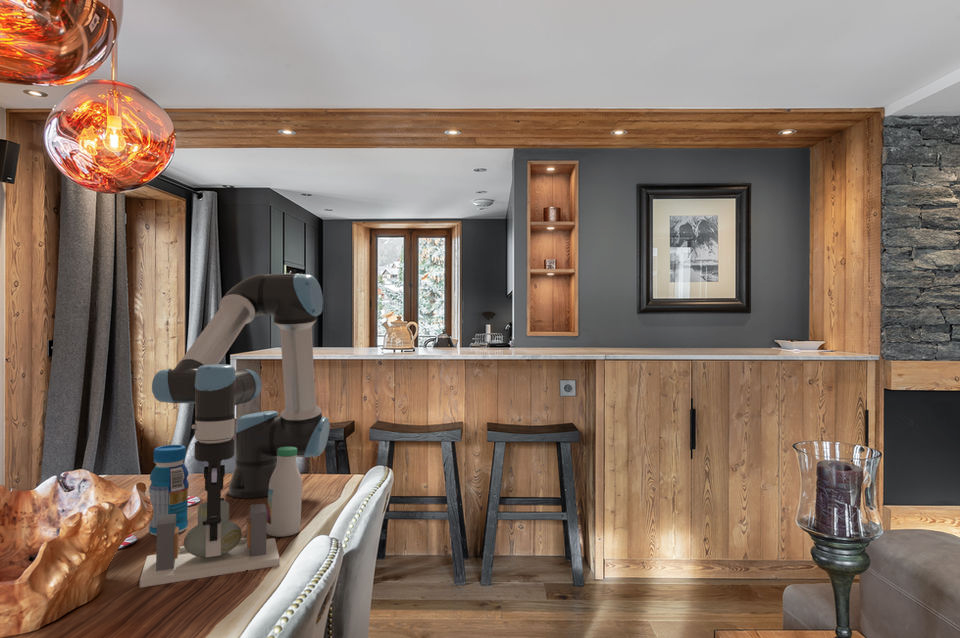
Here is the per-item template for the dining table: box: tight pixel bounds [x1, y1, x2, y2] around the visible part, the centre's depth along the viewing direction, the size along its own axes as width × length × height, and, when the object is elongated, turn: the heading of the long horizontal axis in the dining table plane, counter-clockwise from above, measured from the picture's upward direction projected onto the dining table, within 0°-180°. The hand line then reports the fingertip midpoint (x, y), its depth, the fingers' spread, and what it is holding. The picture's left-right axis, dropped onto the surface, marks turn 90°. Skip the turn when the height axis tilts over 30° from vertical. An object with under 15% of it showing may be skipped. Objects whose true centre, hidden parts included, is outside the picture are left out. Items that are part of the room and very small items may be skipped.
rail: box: [139, 503, 281, 588], centre depth 118 cm, size 12×25×10 cm, turn 114°
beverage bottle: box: [148, 444, 190, 537], centre depth 137 cm, size 8×8×20 cm
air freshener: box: [183, 500, 243, 558], centre depth 118 cm, size 11×8×10 cm
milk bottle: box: [266, 447, 303, 538], centre depth 136 cm, size 8×8×20 cm
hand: (213, 545), depth 118 cm, fingers closed on air freshener, 11 cm apart
